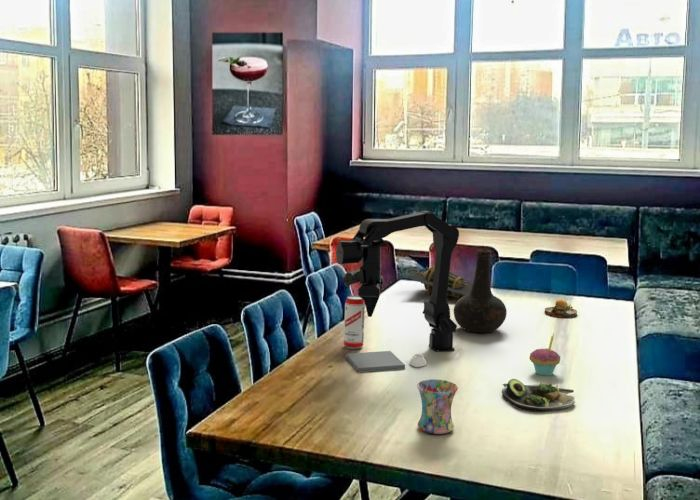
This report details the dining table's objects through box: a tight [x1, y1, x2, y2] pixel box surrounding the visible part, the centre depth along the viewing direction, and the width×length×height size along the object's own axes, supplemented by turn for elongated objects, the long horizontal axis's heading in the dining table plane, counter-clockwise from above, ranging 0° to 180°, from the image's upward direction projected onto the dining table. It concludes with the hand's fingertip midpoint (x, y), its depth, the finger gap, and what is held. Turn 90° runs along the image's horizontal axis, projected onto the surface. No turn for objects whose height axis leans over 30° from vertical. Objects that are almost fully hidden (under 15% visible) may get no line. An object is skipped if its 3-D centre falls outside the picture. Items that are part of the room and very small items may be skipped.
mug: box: [416, 378, 459, 435], centre depth 179 cm, size 12×9×11 cm
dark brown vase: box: [453, 249, 508, 334], centre depth 266 cm, size 18×18×28 cm
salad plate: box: [501, 378, 576, 413], centre depth 202 cm, size 19×18×5 cm
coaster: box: [345, 350, 406, 373], centre depth 230 cm, size 14×14×1 cm
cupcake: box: [529, 333, 561, 377], centre depth 222 cm, size 9×8×12 cm
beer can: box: [343, 295, 366, 350], centre depth 244 cm, size 6×6×16 cm
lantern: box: [405, 265, 473, 299], centre depth 321 cm, size 14×23×30 cm
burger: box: [544, 298, 578, 319], centre depth 292 cm, size 12×12×8 cm
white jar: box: [408, 353, 427, 368], centre depth 229 cm, size 5×3×5 cm
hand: (370, 312), depth 234 cm, fingers open, 9 cm apart
